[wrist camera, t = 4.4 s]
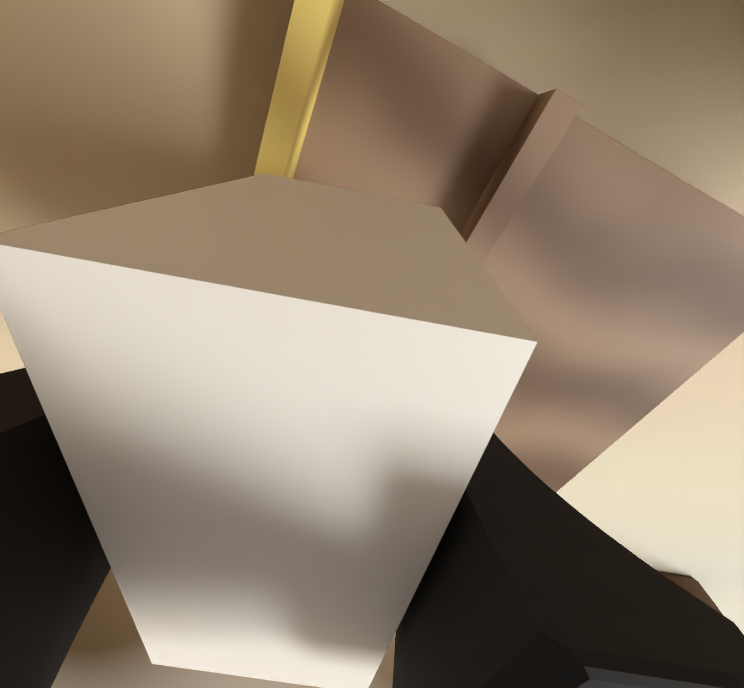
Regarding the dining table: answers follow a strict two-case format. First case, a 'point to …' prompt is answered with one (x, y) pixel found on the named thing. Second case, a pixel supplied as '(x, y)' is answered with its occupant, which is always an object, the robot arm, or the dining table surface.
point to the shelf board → (519, 217)
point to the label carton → (265, 409)
